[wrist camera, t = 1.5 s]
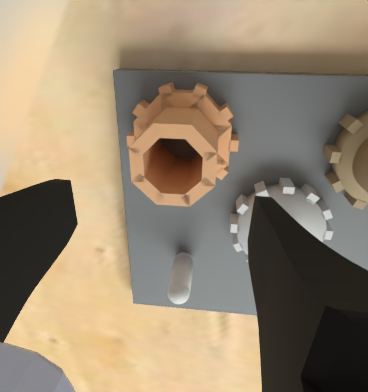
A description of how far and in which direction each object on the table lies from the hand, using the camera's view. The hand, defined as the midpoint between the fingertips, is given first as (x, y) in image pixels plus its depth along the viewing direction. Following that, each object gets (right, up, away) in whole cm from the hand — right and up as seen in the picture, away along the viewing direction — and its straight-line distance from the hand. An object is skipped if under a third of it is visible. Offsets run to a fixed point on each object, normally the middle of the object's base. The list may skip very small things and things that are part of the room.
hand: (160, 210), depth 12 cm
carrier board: (+8, -1, +11) cm, 14 cm away
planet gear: (+1, +5, +8) cm, 10 cm away
